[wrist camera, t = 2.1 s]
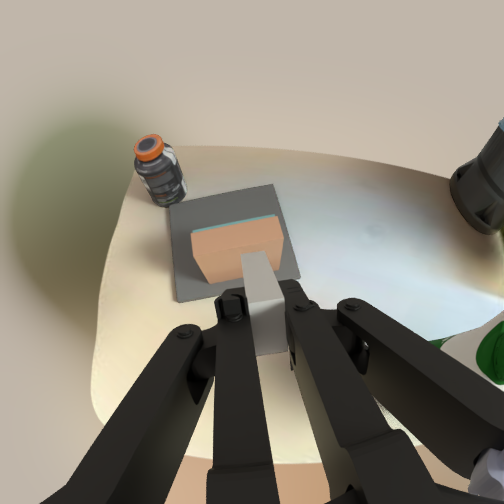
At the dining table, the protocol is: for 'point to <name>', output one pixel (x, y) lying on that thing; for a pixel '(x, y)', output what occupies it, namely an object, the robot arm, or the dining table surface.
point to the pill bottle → (159, 170)
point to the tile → (236, 246)
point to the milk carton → (479, 350)
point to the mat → (216, 213)
